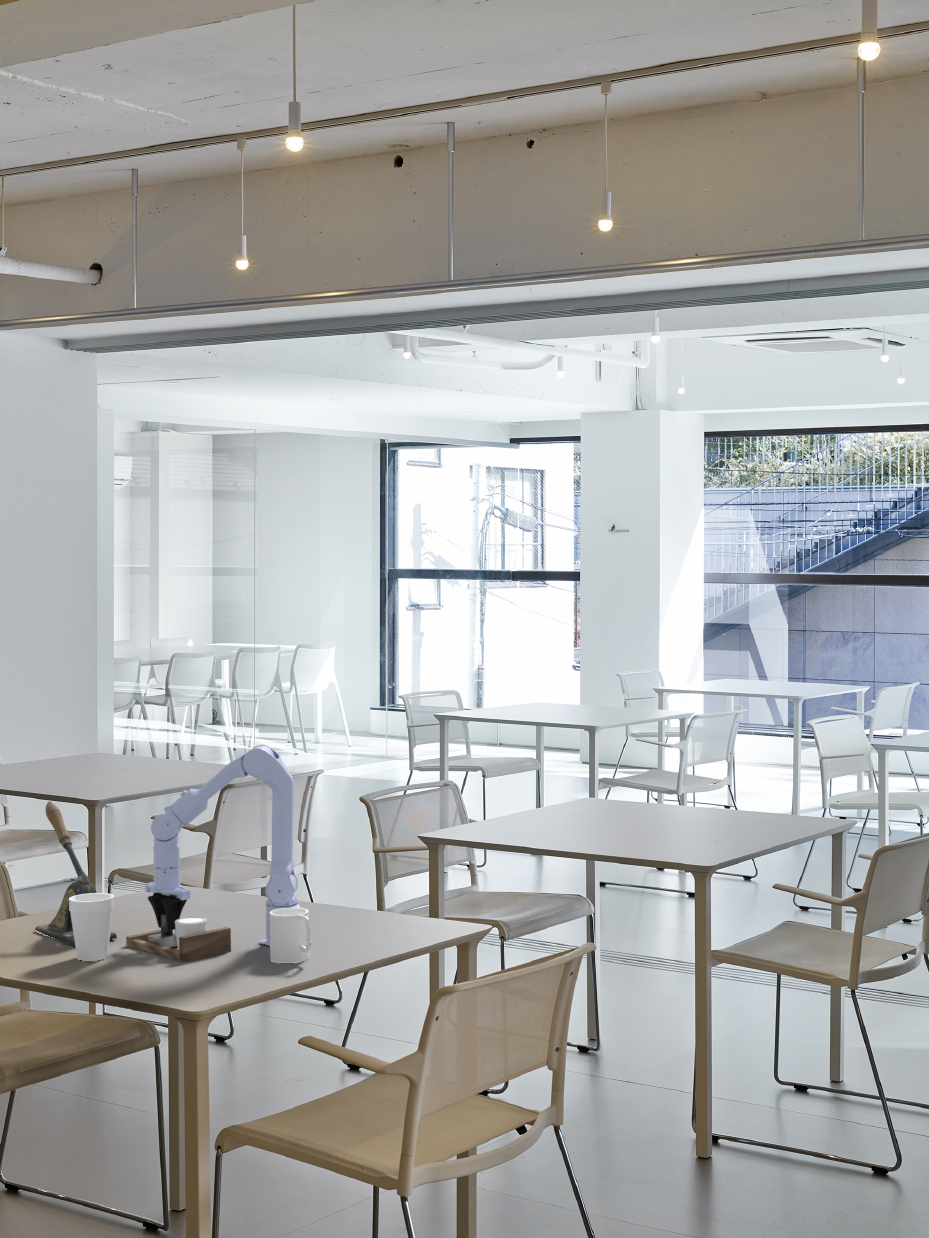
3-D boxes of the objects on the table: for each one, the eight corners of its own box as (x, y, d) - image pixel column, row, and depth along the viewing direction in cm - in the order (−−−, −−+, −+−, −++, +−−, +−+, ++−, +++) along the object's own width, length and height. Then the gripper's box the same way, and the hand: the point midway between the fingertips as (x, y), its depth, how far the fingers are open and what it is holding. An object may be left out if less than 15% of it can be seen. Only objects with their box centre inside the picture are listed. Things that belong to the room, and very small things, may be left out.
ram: (190, 942, 312) (190, 912, 312) (159, 949, 306) (159, 918, 306) (179, 939, 315) (179, 909, 315) (148, 946, 309) (147, 915, 309)
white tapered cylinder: (200, 956, 301) (199, 923, 301) (170, 955, 302) (169, 922, 302) (212, 948, 308) (211, 916, 308) (182, 947, 309) (182, 915, 309)
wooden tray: (230, 950, 305) (230, 928, 305) (183, 961, 296) (183, 938, 296) (172, 935, 320) (172, 913, 320) (126, 945, 312) (125, 923, 312)
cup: (293, 969, 289) (292, 920, 289) (263, 958, 298) (262, 911, 298) (326, 962, 294) (326, 914, 294) (295, 952, 303) (295, 905, 303)
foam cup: (74, 965, 295) (73, 903, 295) (65, 956, 303) (64, 895, 303) (119, 959, 299) (118, 898, 299) (109, 950, 307) (108, 891, 307)
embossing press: (72, 949, 310) (70, 813, 310) (31, 930, 328) (29, 802, 328) (118, 941, 317) (116, 808, 316) (76, 923, 335) (74, 798, 335)
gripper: (133, 865, 313) (134, 926, 313) (170, 873, 303) (171, 936, 303) (160, 861, 318) (161, 920, 318) (197, 868, 308) (198, 930, 308)
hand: (167, 928), depth 311 cm, fingers closed on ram, 3 cm apart
